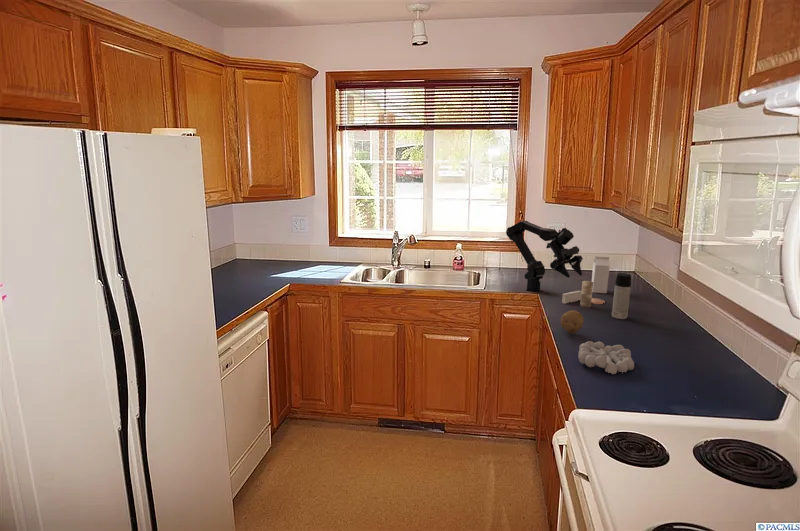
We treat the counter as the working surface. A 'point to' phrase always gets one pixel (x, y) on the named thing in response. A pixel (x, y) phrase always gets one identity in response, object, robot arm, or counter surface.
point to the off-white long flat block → (571, 297)
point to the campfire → (606, 357)
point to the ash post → (586, 293)
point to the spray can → (621, 296)
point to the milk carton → (600, 274)
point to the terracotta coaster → (597, 301)
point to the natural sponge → (572, 321)
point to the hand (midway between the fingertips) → (575, 276)
